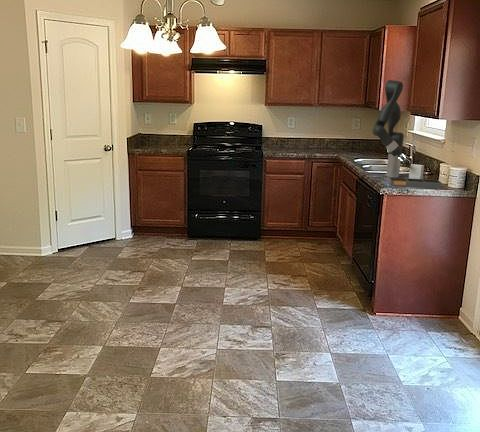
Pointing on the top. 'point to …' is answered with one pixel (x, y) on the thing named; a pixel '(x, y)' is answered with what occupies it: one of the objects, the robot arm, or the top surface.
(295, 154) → the top surface
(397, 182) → the rack
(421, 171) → the small box
